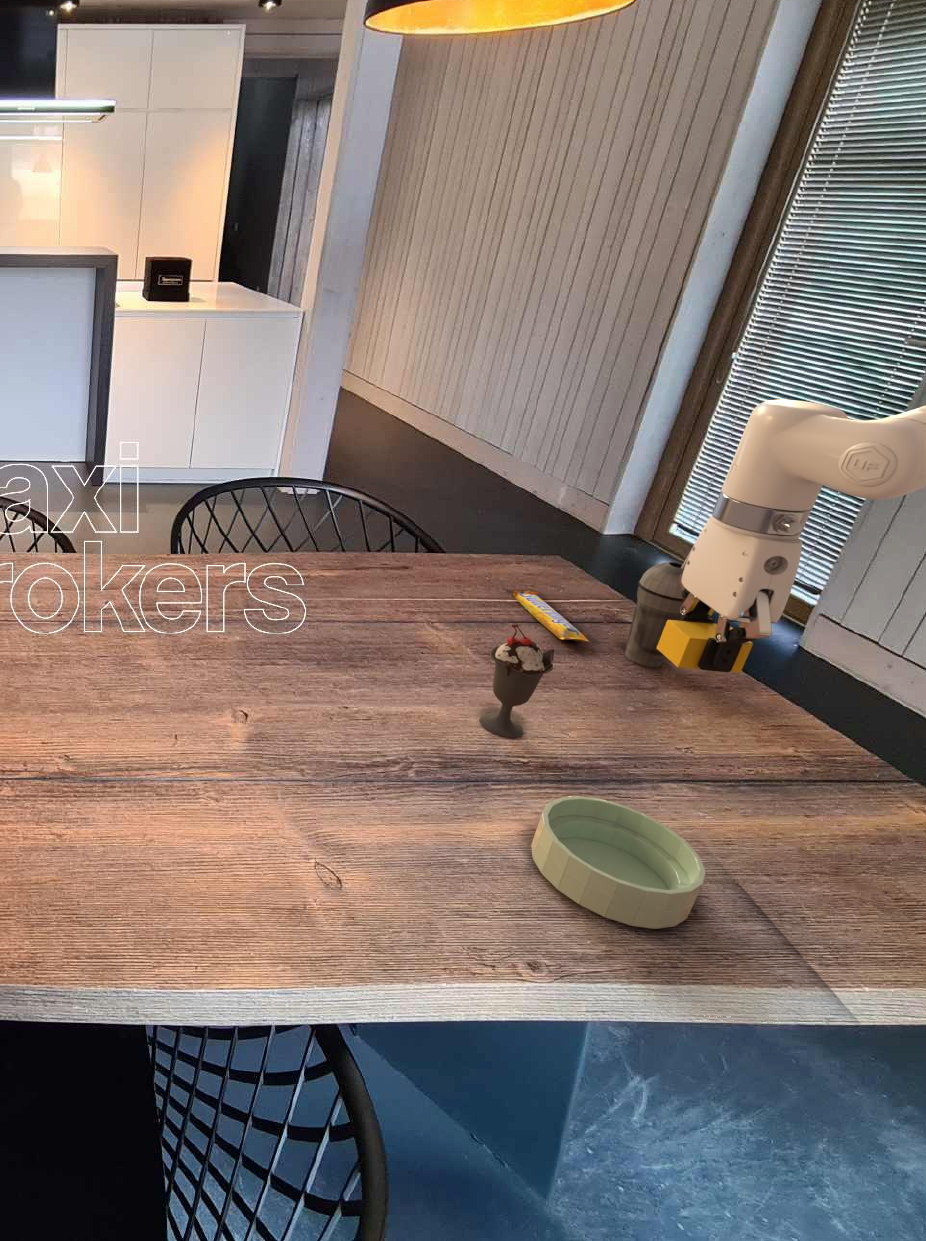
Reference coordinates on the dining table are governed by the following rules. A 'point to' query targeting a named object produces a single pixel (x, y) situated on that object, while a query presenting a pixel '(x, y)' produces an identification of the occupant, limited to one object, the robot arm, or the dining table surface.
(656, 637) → the beverage cup
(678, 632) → the sponge
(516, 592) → the candy bar
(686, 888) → the bowl
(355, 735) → the dining table surface
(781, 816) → the dining table surface
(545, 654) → the sundae
